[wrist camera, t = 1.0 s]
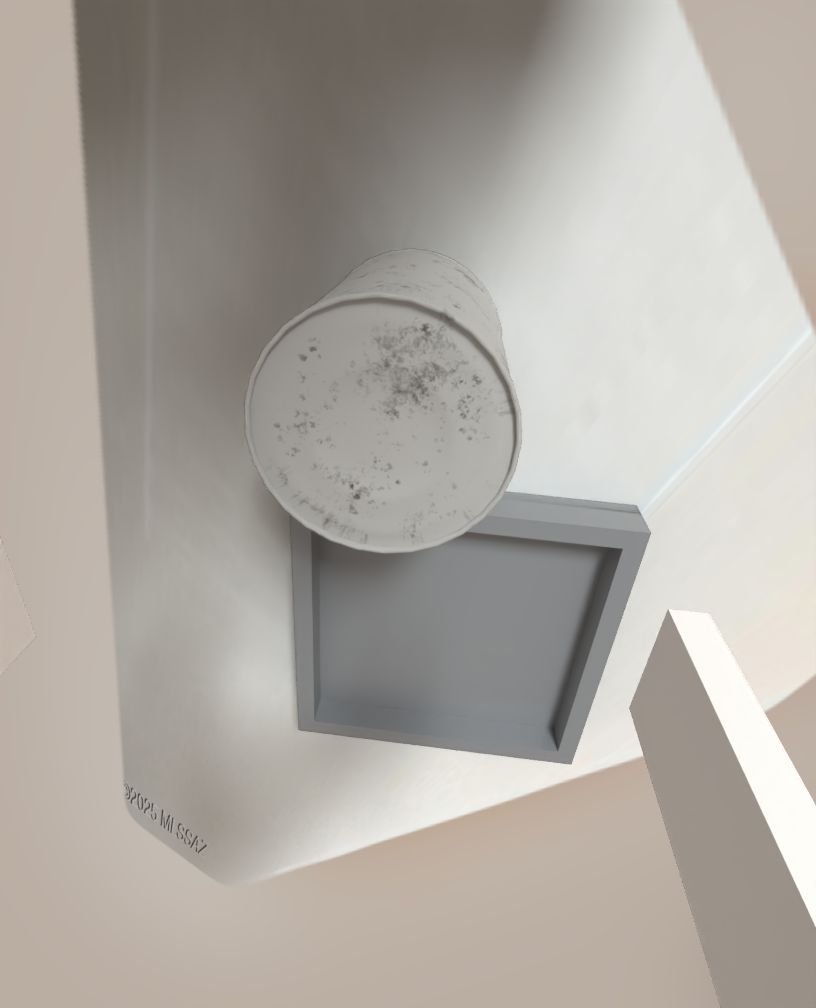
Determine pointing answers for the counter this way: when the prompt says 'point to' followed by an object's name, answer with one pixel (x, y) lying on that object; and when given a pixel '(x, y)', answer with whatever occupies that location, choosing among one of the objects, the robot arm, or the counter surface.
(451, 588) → the tray
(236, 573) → the counter surface
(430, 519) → the speckled white tin can
